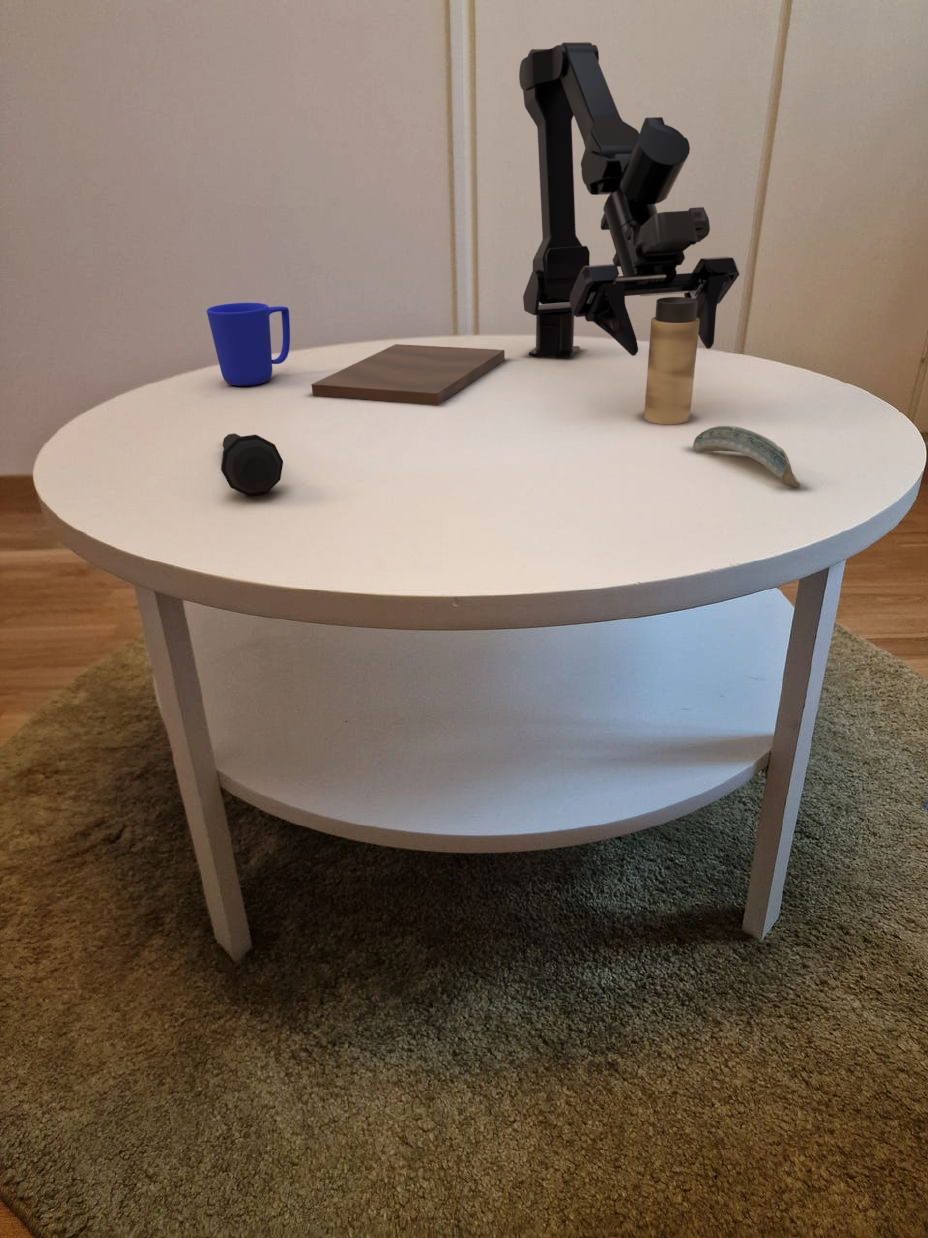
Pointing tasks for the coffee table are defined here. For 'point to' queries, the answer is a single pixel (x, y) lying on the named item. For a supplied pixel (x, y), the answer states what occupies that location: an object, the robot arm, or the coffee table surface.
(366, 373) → the cutting board
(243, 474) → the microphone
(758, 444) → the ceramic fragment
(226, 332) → the mug
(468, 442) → the coffee table surface
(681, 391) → the pepper mill
